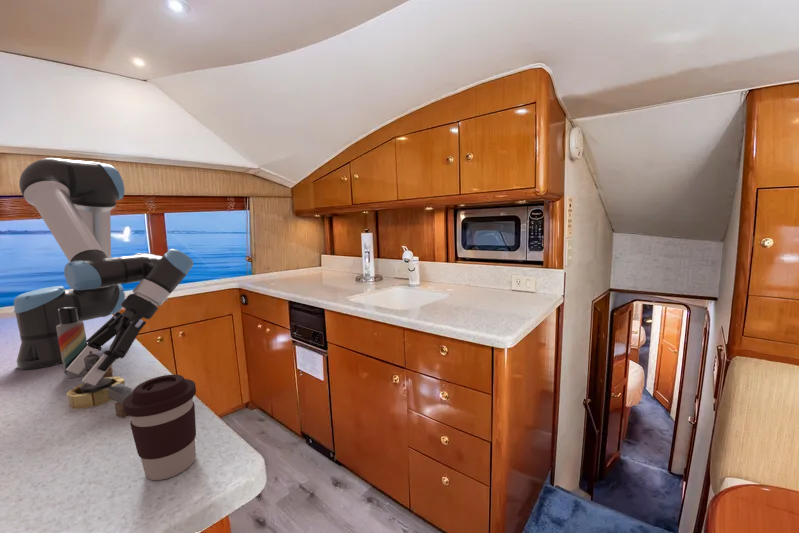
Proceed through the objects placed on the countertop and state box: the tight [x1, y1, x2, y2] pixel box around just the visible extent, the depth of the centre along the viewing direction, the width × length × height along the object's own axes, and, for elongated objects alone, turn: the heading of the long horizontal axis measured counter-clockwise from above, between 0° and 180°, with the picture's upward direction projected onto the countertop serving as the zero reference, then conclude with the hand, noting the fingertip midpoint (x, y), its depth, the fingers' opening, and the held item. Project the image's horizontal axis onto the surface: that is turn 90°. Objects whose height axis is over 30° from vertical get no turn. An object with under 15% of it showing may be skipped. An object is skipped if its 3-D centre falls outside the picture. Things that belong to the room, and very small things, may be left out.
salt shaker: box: [80, 351, 112, 394], centre depth 84 cm, size 6×6×12 cm
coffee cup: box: [123, 374, 197, 481], centre depth 58 cm, size 10×10×15 cm
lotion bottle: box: [56, 307, 88, 379], centre depth 99 cm, size 6×6×20 cm
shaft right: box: [107, 383, 135, 419], centre depth 78 cm, size 8×4×5 cm, turn 60°
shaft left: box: [99, 355, 114, 378], centre depth 96 cm, size 8×4×5 cm, turn 36°
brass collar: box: [66, 375, 126, 410], centre depth 85 cm, size 10×10×3 cm
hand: (79, 377), depth 82 cm, fingers open, 11 cm apart
